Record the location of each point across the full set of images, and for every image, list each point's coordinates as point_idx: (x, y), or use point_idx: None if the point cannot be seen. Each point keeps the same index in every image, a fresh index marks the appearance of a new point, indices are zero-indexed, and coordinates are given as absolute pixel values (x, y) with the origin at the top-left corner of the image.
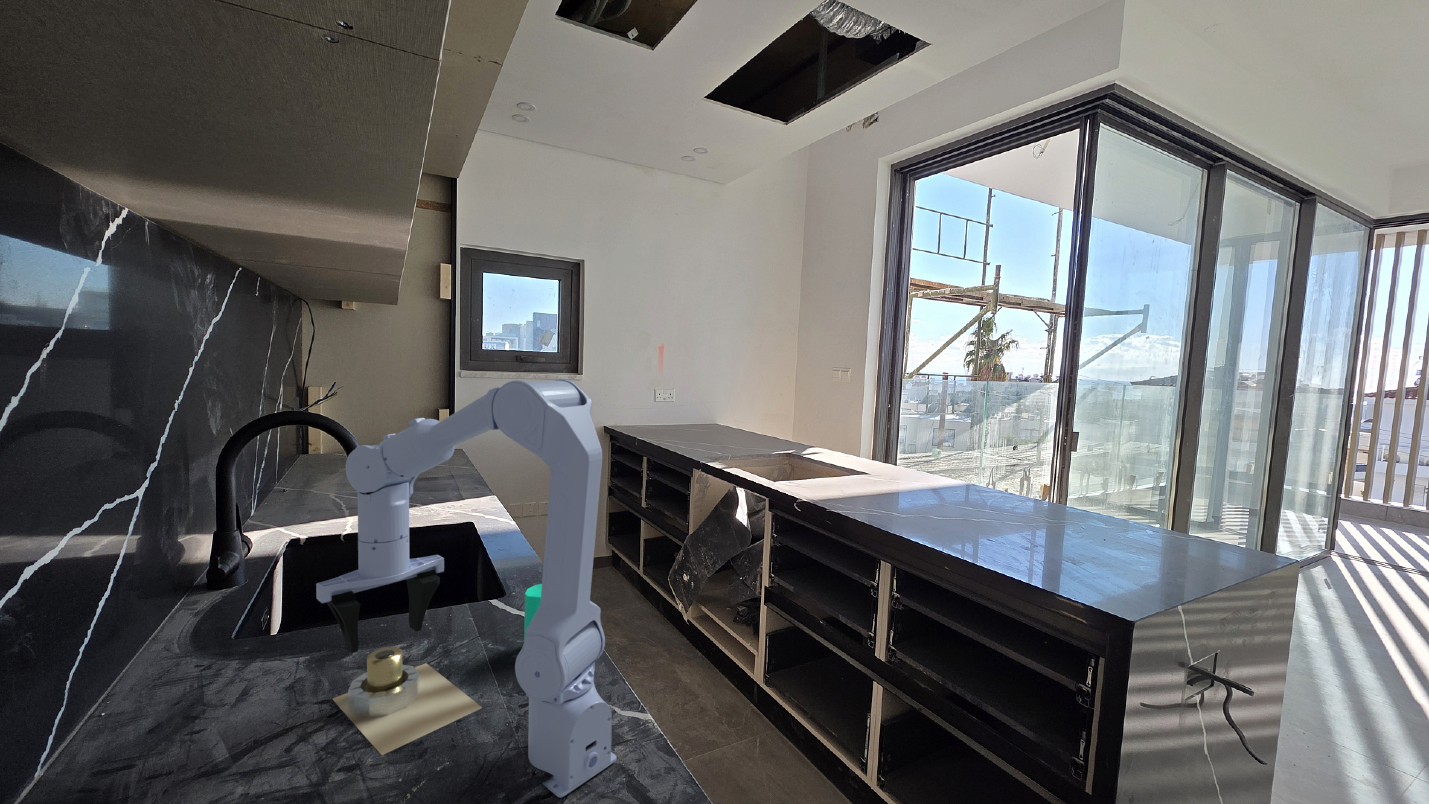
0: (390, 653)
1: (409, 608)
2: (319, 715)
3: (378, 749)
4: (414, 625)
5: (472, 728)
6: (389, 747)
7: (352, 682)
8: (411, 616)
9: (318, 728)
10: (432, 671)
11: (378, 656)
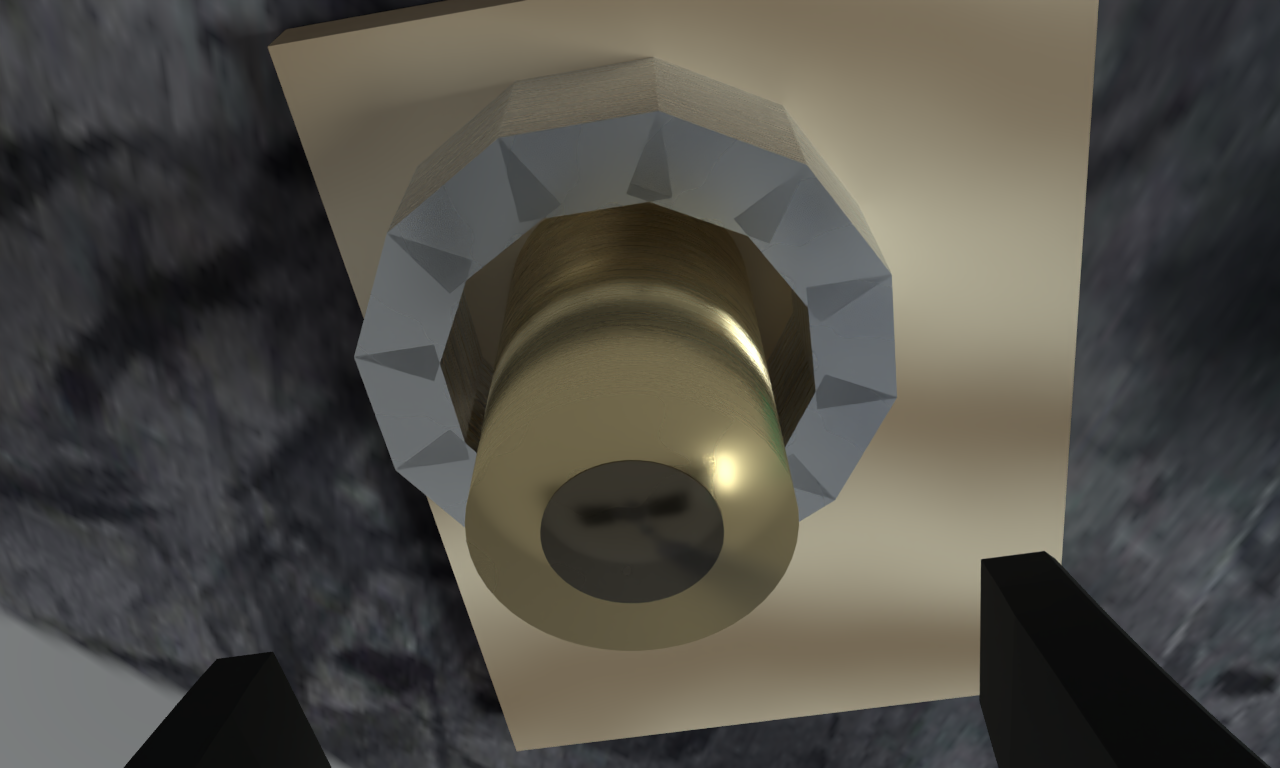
0: (683, 547)
1: (1096, 742)
2: (206, 108)
3: (509, 715)
4: (999, 725)
5: (942, 706)
6: (557, 726)
7: (388, 254)
8: (1042, 721)
9: (218, 272)
10: (1065, 103)
11: (570, 540)
